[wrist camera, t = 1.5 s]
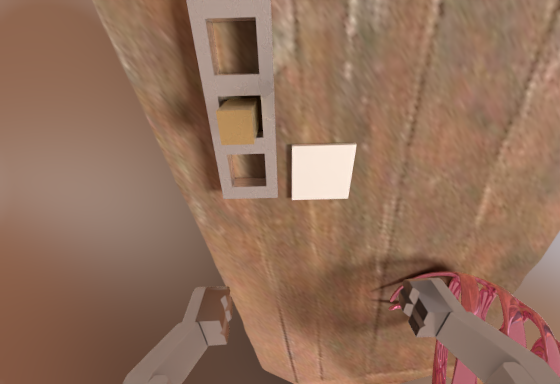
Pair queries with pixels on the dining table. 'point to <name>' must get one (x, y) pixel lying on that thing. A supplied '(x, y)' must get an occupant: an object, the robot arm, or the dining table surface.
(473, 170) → the dining table surface
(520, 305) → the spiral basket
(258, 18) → the rail
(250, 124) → the block
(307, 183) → the pad
